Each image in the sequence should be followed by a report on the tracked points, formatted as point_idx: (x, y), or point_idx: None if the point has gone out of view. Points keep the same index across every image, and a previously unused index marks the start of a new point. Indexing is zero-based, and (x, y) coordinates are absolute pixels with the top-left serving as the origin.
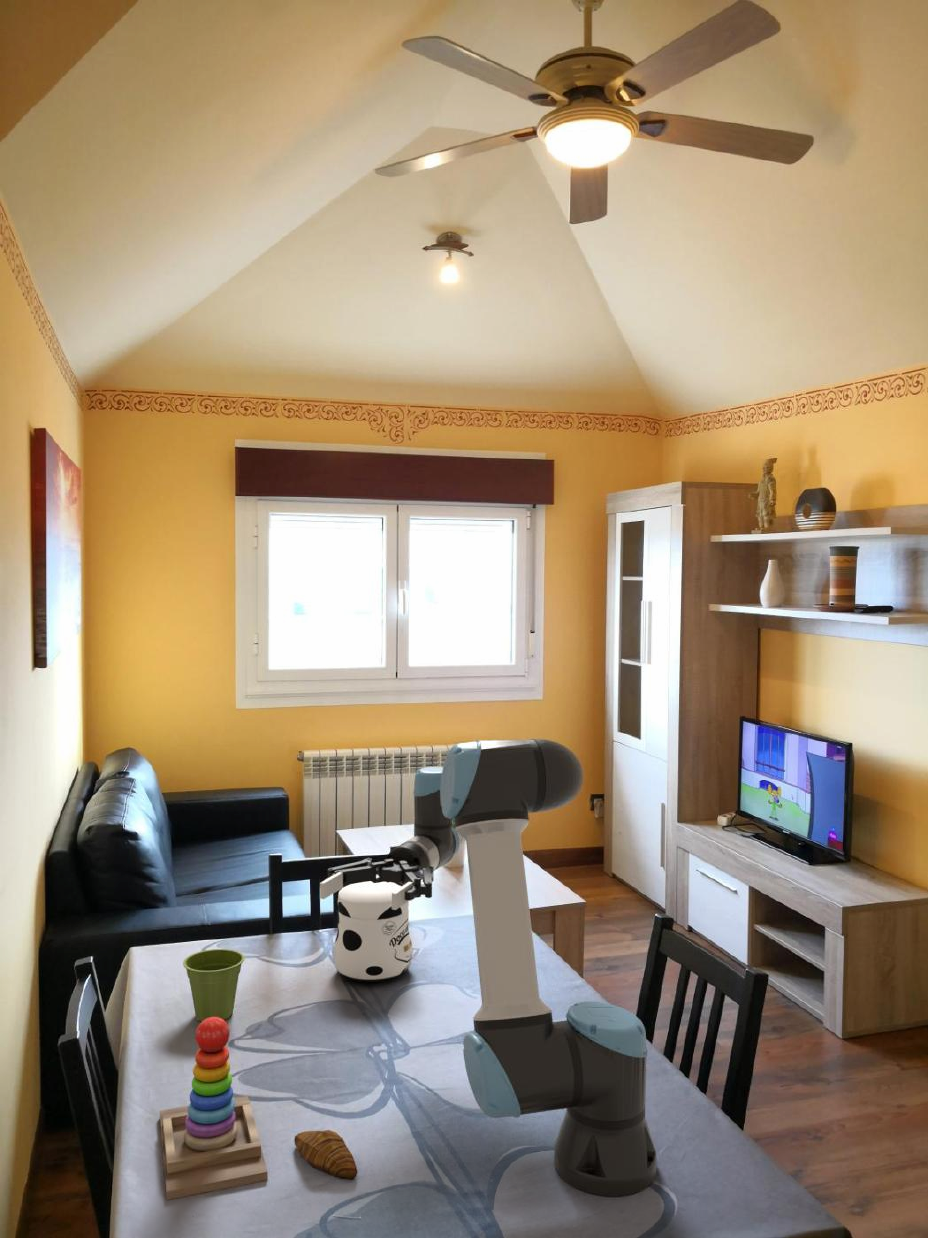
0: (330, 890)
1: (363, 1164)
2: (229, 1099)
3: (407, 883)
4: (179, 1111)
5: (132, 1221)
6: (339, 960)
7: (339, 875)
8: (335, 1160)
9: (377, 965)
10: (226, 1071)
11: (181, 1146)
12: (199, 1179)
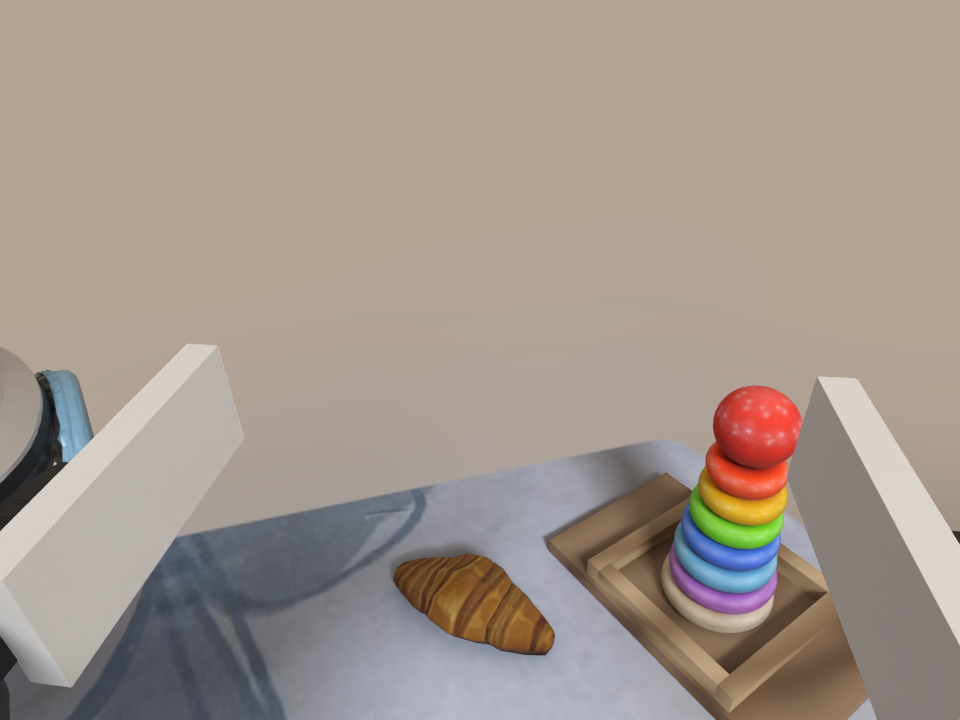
0: (827, 524)
1: (394, 629)
2: (681, 526)
3: (35, 532)
4: None
5: (673, 446)
6: None
7: (933, 609)
8: (432, 558)
9: None
10: (699, 483)
11: None
12: (642, 501)
